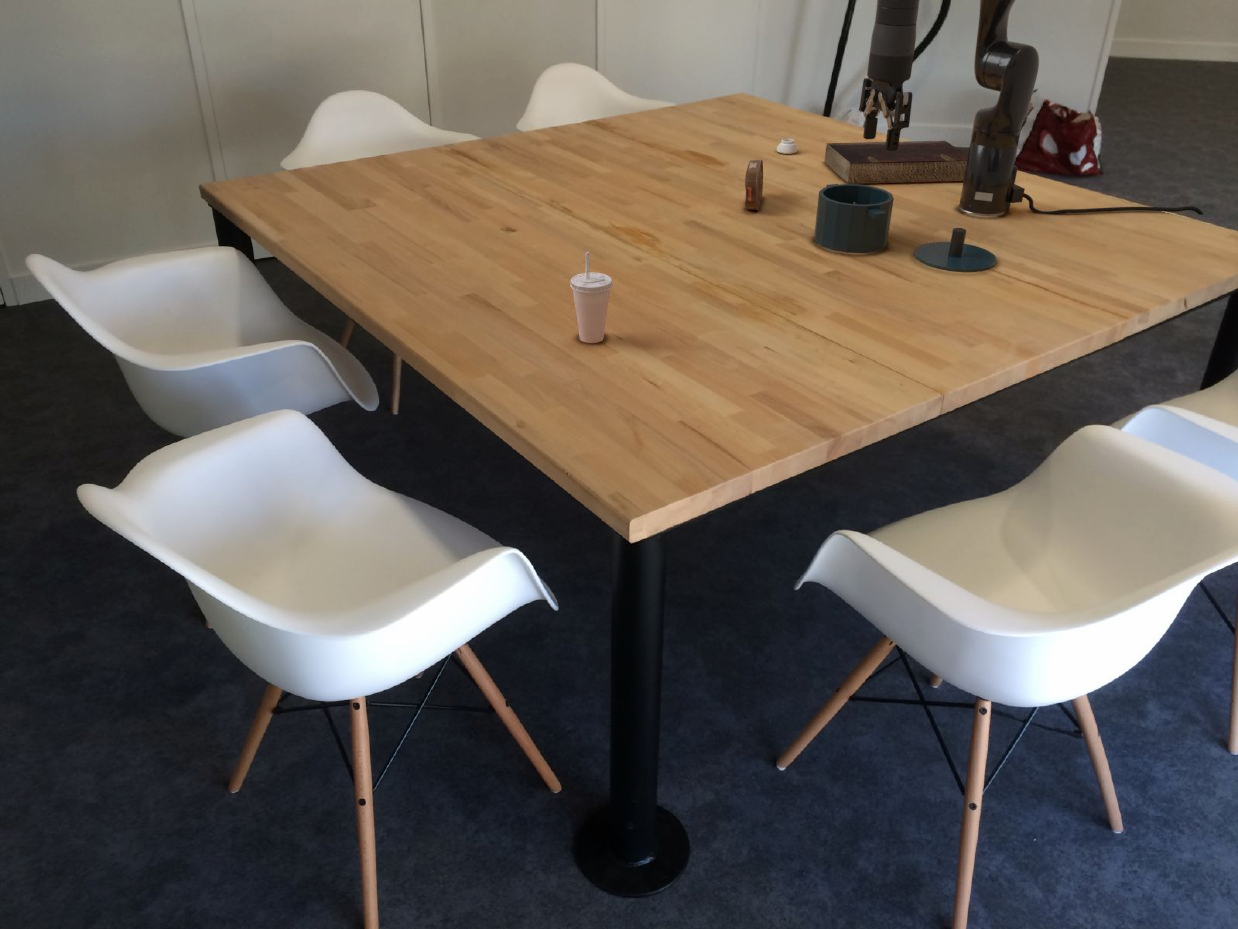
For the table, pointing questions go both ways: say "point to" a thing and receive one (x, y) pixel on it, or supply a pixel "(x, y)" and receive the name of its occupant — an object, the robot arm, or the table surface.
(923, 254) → the lid
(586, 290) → the smoothie
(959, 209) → the robot arm
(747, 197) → the tin
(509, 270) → the table surface
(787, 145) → the lidless jar
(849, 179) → the hardback book
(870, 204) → the pot
